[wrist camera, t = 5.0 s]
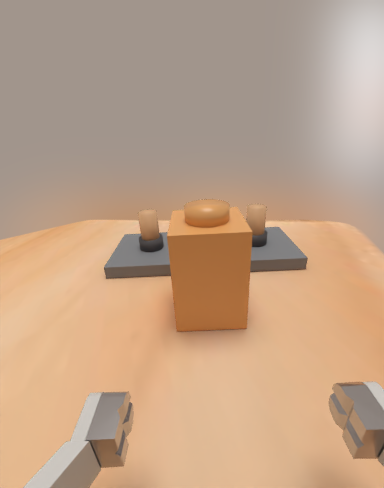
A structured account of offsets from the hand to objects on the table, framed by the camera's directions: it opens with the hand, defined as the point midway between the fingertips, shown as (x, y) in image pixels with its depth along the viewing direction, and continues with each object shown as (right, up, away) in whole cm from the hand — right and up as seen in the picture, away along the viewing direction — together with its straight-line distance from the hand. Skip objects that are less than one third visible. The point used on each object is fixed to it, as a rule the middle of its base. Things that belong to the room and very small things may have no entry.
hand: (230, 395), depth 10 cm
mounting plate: (0, +5, +24) cm, 24 cm away
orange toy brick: (0, 0, +14) cm, 14 cm away
